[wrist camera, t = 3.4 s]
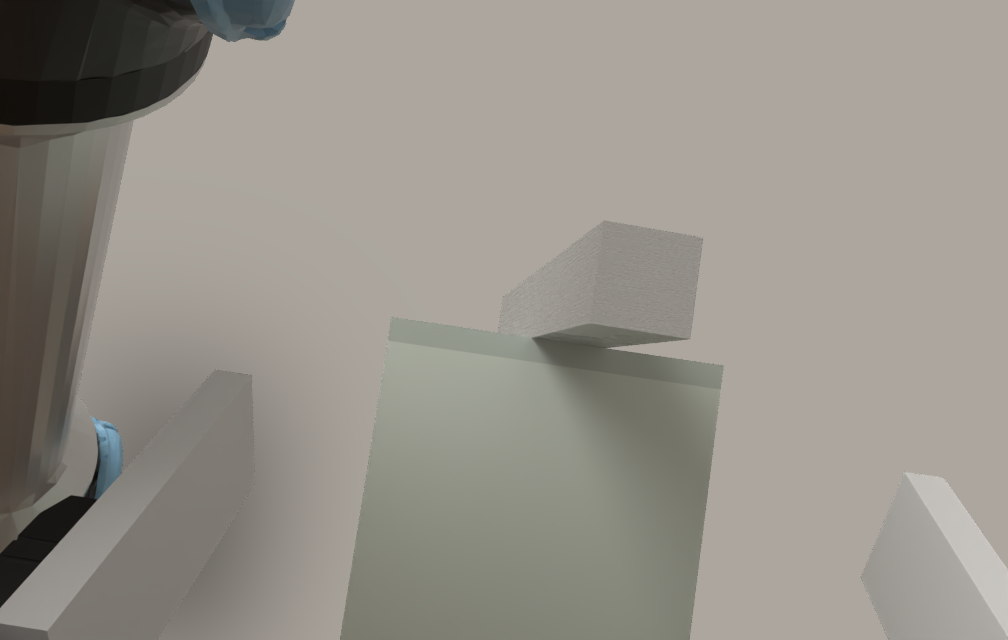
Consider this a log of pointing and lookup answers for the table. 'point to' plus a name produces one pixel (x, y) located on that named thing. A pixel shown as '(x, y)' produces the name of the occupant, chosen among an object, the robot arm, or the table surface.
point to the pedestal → (531, 491)
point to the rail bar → (610, 290)
